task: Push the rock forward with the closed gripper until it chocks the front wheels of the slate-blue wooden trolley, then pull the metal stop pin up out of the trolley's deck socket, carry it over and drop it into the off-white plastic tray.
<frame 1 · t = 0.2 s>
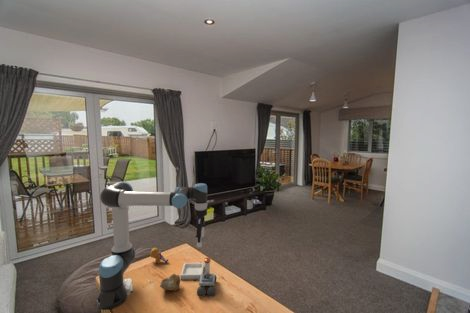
hand: (200, 241, 139), 28 cm above the table, fingers open, 13 cm apart
toy: (158, 262, 164), on the table
tray: (192, 272, 152), on the table
trolley: (207, 288, 137), on the table
pin: (207, 278, 136), point 7 cm above the table, touching trolley
rock: (171, 289, 136), on the table
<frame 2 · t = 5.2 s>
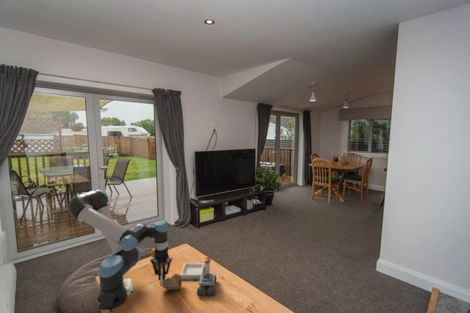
hand: (162, 284, 135), 3 cm above the table, fingers closed
rock: (172, 289, 136), on the table, touching gripper
everything else where it was.
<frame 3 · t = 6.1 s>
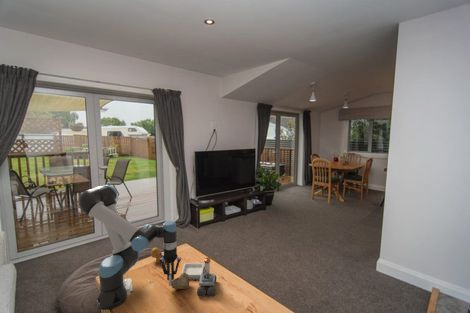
hand: (170, 284, 135), 3 cm above the table, fingers closed
rock: (181, 288, 137), on the table, touching gripper
everything else where it was.
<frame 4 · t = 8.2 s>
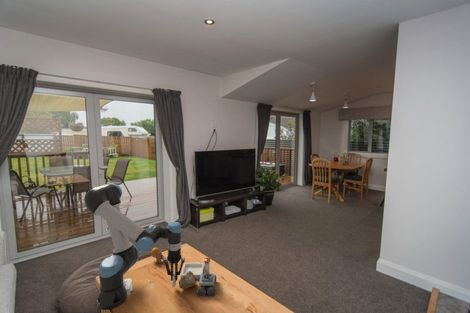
hand: (174, 285, 136), 3 cm above the table, fingers closed
rock: (187, 287, 137), on the table
everything else where it was.
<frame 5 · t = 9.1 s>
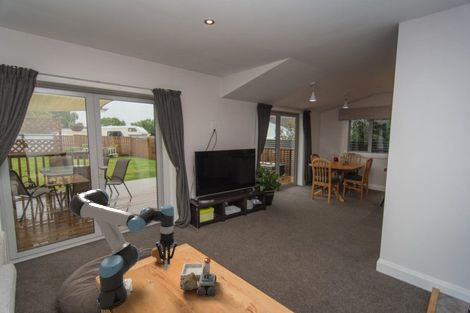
hand: (166, 269, 135), 13 cm above the table, fingers closed
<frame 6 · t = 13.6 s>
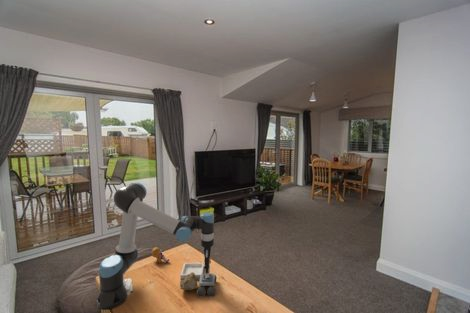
hand: (207, 275, 136), 9 cm above the table, fingers closed on pin, 3 cm apart
pin: (207, 278, 136), point 7 cm above the table, touching gripper
when the fingers open (5 cm above the table, at t = 19.9 s): pin stays where it is, resting on tray.
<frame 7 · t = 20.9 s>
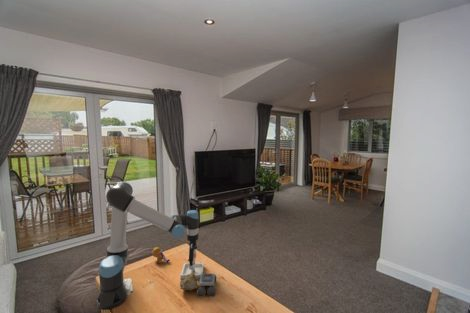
hand: (192, 263, 152), 7 cm above the table, fingers open, 13 cm apart
pin: (193, 271, 152), point 1 cm above the table, touching tray
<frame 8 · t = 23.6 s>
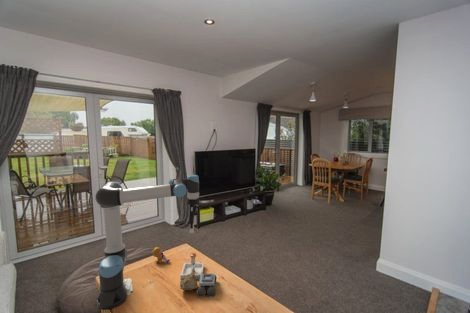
hand: (193, 228, 151), 31 cm above the table, fingers open, 13 cm apart
at the end: rock inside the target area (1.5 cm from its centre), on the table; pin inside the target area on the tray (0.2 cm from its centre), point 0.8 cm above the tray's base; the gripper is holding nothing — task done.
